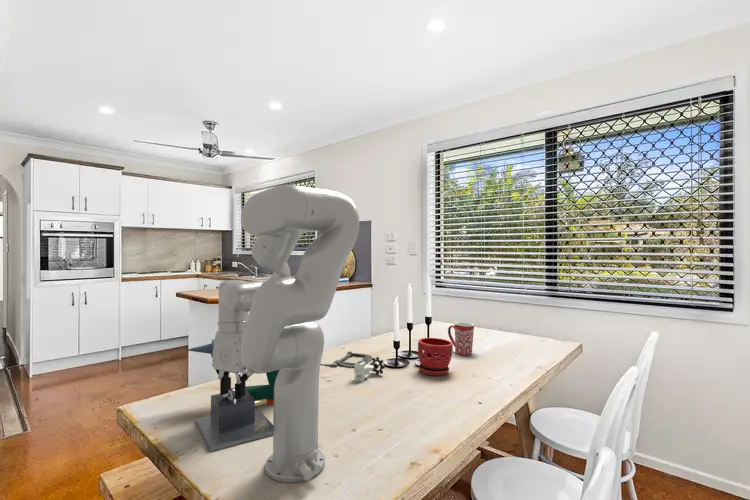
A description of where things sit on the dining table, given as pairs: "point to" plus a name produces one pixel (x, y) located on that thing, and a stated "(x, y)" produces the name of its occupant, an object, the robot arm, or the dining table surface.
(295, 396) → the robot arm
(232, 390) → the chuck key
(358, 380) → the valve
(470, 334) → the mug
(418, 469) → the dining table surface
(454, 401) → the dining table surface
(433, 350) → the plant pot
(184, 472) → the dining table surface
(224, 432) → the block
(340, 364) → the c clamp
